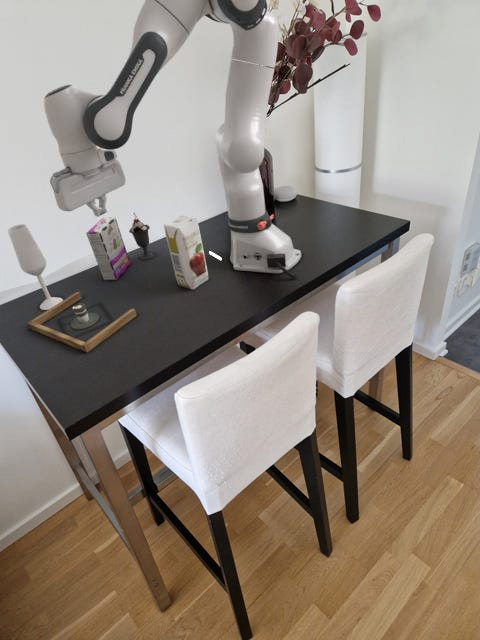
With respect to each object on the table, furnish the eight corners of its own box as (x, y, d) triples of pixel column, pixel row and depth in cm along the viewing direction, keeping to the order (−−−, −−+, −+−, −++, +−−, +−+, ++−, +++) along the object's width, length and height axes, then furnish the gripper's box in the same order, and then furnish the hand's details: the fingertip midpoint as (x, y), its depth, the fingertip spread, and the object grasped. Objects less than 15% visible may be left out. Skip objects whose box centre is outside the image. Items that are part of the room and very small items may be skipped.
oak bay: (137, 315, 115) (135, 309, 114) (87, 352, 104) (84, 346, 103) (79, 297, 128) (77, 291, 127) (29, 328, 117) (26, 323, 116)
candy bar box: (117, 263, 143) (102, 217, 134) (131, 263, 142) (116, 216, 133) (102, 280, 135) (85, 232, 125) (116, 280, 133) (100, 231, 124)
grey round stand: (112, 321, 114) (106, 306, 111) (67, 340, 110) (60, 324, 107) (99, 303, 123) (93, 289, 120) (57, 320, 119) (50, 305, 116)
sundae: (147, 250, 149) (135, 209, 140) (160, 254, 145) (149, 211, 137) (133, 259, 145) (120, 217, 136) (147, 262, 141) (134, 219, 133)
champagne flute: (62, 295, 130) (30, 220, 117) (63, 305, 125) (29, 228, 111) (39, 301, 129) (4, 226, 115) (39, 312, 123) (2, 235, 110)
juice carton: (174, 286, 126) (159, 225, 115) (194, 273, 131) (182, 213, 120) (192, 292, 121) (178, 229, 111) (212, 278, 126) (201, 217, 116)
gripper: (55, 175, 97) (78, 232, 105) (120, 149, 110) (135, 201, 118) (39, 174, 100) (62, 229, 108) (104, 149, 113) (120, 199, 121)
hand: (101, 214), depth 113 cm, fingers closed
